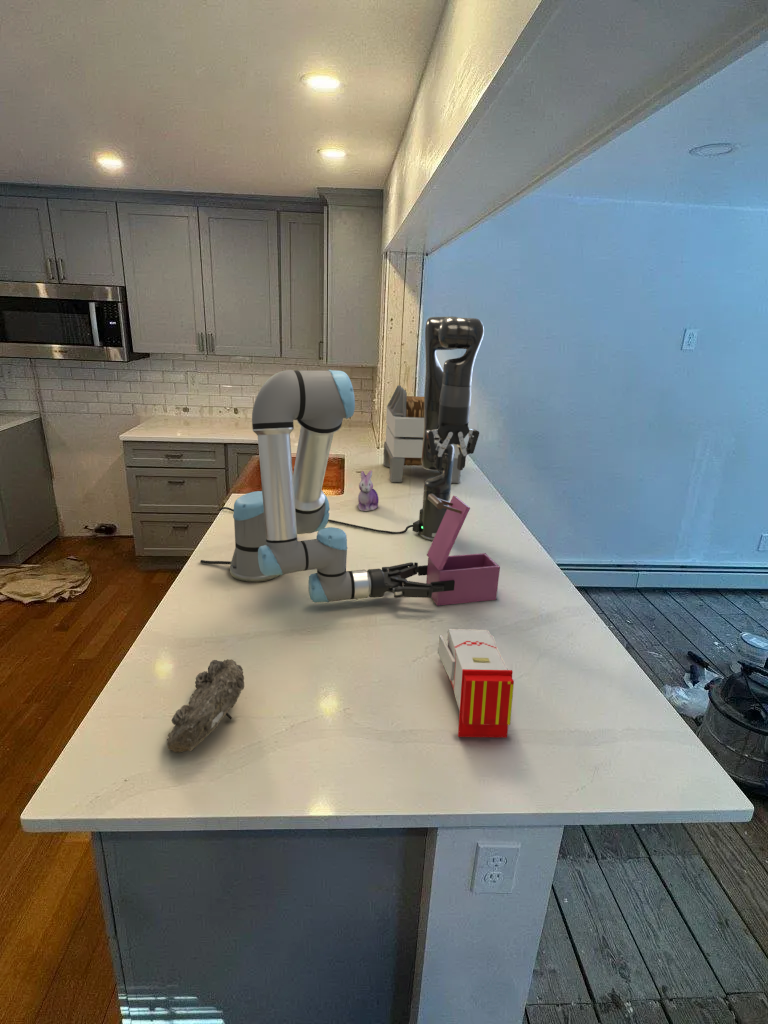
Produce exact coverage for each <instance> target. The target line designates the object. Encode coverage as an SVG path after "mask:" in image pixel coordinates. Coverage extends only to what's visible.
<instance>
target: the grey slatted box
mask: <svg viewBox="0 0 768 1024" xmlns="http://www.w3.org/2000/svg"><path fill="white" fill-rule="evenodd" d="M407 394H408V393H407V390H406V389H404V388H403V387H402V385H399V384H398V385H397V386H396V388H395V390H394V392H393V394H392V395H391V398H390V400H389V402H388V404H387V405H386V413H385V414H386V415H385V423H386V428H385V438H384V442H383V466H384V467H388V468H389V475H388V476H389V477H388V478H389V480H390V482H391V483H402V482H403V475H404V469H405V466H406V467H407V466H411V467H412V466H413V467H415V466H416V467H417V466H418V467H423V466H422V461H421V457H422V445H423V434H424V396H415V395H414V396H413V395H412V396H411V395H407ZM439 439H440V437H439V435H438V434H436V437H435V438H434V443H438V441H439ZM452 445H453V446H454V449H455V456H454V464H453V470H452V479H451V484H455V483H456V484H459V483H461V472H462V470H458V469H457V463H458V455H460V453H459V450H458V447H457V445H456V444H452ZM439 473H440V475H441V474H442V473H443V471H439Z"/></svg>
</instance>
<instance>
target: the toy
mask: <svg viewBox="0 0 768 1024" xmlns="http://www.w3.org/2000/svg"><path fill="white" fill-rule="evenodd" d="M446 640H447V643H446V641H445V639H444V636H443V635H442V634H439V637H438V646H437V656H438V657H439V659H440V661H441V663H442V666H443V668H444V670H445V672H446V674H447V677H448V679H449V681H450V684H451V687H452V690H453V693H454V697H455V701H456V705H457V708H458V711H459V714H458V715H459V716H458V730H457V731H458V732H457V737H458V738H508V731H509V726H510V725H511V717H512V707H513V697H514V696H513V695H514V684H515V680H514V679H513V673H514V671H513V670H512V669H508V667H507V665H506V662H505V661H504V659H503V658H502V655H501V653H500V651H499V649H498V647H497V643H496V639H495V637H494V635H493V634H491V632H490V631H489V629H467V628H466V629H465V628H463V629H461V628H460V629H459V628H448V630H447V639H446Z"/></svg>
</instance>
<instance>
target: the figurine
mask: <svg viewBox="0 0 768 1024" xmlns="http://www.w3.org/2000/svg"><path fill="white" fill-rule="evenodd" d="M372 476H373V470H369V471H368V472H367V474H366V473H365V472H364V471H363V470H361V471H360V482H359V484H358V488H359V490H360V491H359V493H358V497H357V501H358V503H357V508H358V510H359V511H362V512H369V511H374V510H376V509H378V507H379V501H380V499H379V495H378V492H377V491H376V490H375V488H374V483H373V481H372Z"/></svg>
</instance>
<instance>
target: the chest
mask: <svg viewBox="0 0 768 1024" xmlns="http://www.w3.org/2000/svg"><path fill="white" fill-rule="evenodd" d="M427 565H428V566H427V575H426V581H425V583H427V584H431V582H437V581H449V580H454V581H455V585H454V590H453V591H442V592H433V593H432V597H431V598H430V599H432V601H433V602H434V603H435V605H436V606H437V607H439V606H449V605H458V604H466V603H467V604H469V603H477V602H486V601H496V600H497V598H498V597H497V595H498V587H499V580H500V572H501V566H500V565H499V564H498V563H497V562H496V561H495V560H493V558H492V557H490V556H489V554H487V552H481V553H467V554H455V555H449V556H448V558H447V560H446V562H445V565H444V567H443V569H442V570H439V569H438V568H437V567H436V566H435V565H434V563H433V562H432V561H431V560H430V559H429V557H427Z"/></svg>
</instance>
